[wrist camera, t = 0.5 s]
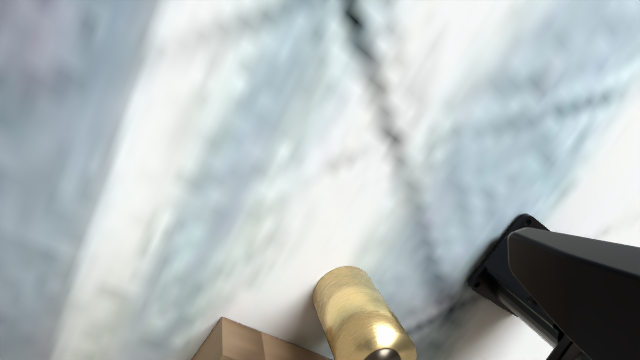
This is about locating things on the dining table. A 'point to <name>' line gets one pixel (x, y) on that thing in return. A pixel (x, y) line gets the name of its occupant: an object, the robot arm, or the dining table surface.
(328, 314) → the brass sleeve
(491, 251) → the robot arm
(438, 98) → the dining table surface
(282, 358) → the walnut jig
